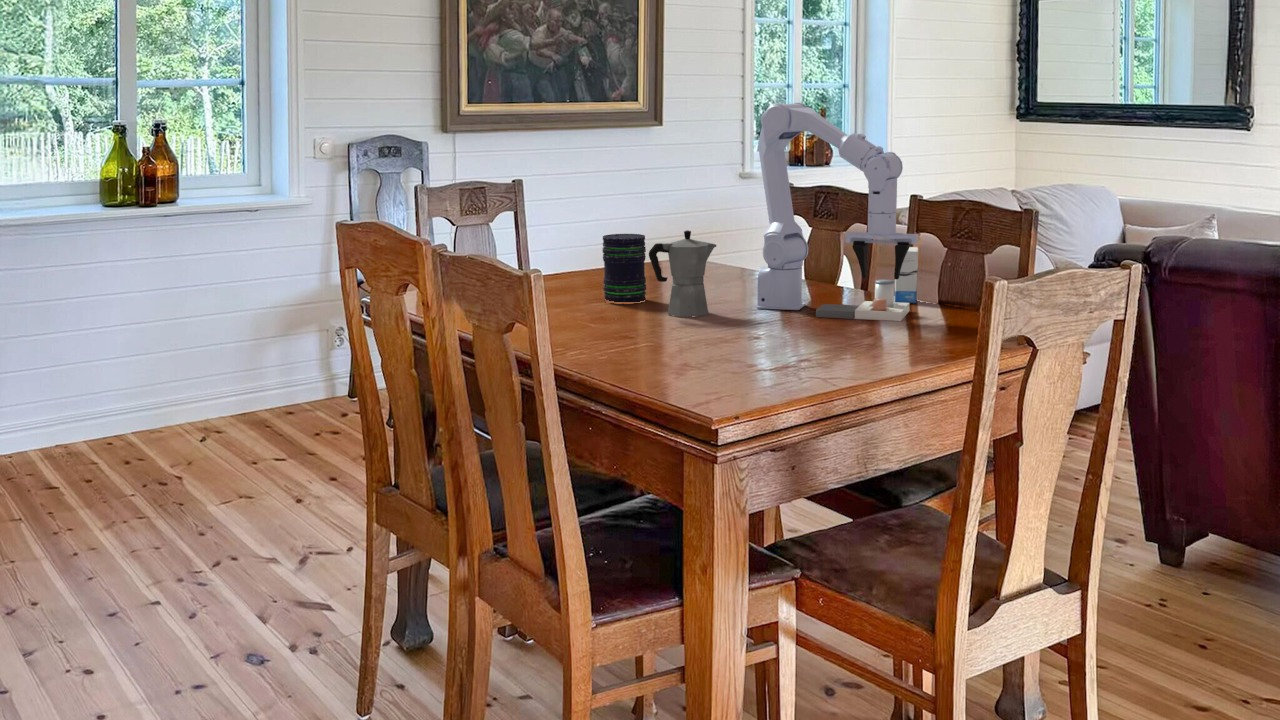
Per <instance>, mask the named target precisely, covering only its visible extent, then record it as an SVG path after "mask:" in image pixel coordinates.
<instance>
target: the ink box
mask: <svg viewBox="0 0 1280 720" xmlns="http://www.w3.org/2000/svg"><path fill="white" fill-rule="evenodd" d="M918 268H919V247H917V246H910V247H909V249H908V251H907V254H906V256H905V258H904V261H903V263H902V267H901V270H900V275H899V279H894V302H899V303H910V304H917V294H918V291H917V290H918V277H919V269H918Z"/></svg>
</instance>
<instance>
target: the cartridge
mask: <svg viewBox="0 0 1280 720" xmlns="http://www.w3.org/2000/svg"><path fill="white" fill-rule="evenodd" d="M874 299H886V300H887V307H889V308H894V302H895V280H893V279H875V281H874Z"/></svg>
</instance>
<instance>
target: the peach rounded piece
mask: <svg viewBox="0 0 1280 720" xmlns="http://www.w3.org/2000/svg"><path fill="white" fill-rule="evenodd" d="M872 301H873V311H887V300H886V299H875V298H874V299H873V300H872Z"/></svg>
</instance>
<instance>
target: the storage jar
mask: <svg viewBox="0 0 1280 720" xmlns="http://www.w3.org/2000/svg"><path fill="white" fill-rule="evenodd" d="M645 240H646V235H644V234H641V233H640V234H639V233H614V234H605V235H603V236H602V241H603V242H602V261H603V263H604V264H603V266H604V271H603V272H604V277H603V280H602V281H603V286H602V288H603V296H604V298H605V299H606V300H609V301H614V302H640V301H644V300H646V301H647V298H646V294H647V292H646V290H647V284H646V283H647V282H646V280H647V277H646V276H645V273H646V272H645V261H646V257H647V256H646V251H647V248H646V242H645Z"/></svg>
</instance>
